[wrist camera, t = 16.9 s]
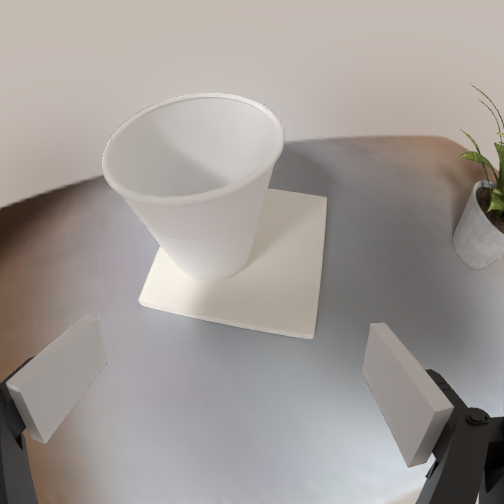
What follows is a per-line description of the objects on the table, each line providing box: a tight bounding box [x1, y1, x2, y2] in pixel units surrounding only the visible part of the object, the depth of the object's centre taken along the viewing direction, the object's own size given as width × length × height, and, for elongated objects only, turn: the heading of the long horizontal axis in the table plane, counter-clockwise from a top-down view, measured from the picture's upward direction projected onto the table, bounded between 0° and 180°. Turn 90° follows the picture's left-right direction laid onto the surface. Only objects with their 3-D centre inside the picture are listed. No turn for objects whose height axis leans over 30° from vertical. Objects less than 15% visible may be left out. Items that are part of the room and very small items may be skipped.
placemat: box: [139, 188, 327, 340], centre depth 25 cm, size 13×13×1 cm
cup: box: [102, 92, 285, 282], centre depth 20 cm, size 10×10×11 cm
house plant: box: [452, 86, 504, 269], centre depth 19 cm, size 14×14×16 cm
